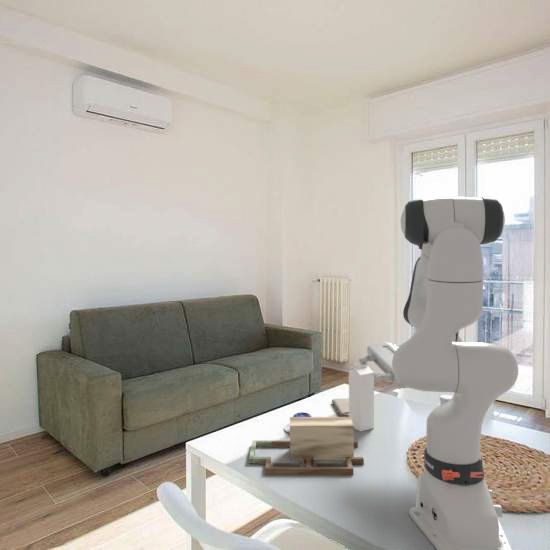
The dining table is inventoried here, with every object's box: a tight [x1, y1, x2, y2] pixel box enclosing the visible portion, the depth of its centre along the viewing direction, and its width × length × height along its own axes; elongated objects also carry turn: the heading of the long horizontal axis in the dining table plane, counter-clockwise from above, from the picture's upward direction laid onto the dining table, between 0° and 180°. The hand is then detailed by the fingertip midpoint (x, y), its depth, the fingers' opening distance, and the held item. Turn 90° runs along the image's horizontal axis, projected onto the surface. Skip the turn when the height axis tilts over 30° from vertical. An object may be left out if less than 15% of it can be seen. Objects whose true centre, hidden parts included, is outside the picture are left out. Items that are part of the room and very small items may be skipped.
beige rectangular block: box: [289, 416, 355, 461], centre depth 133 cm, size 7×18×10 cm, turn 88°
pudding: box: [284, 411, 312, 434], centre depth 152 cm, size 12×12×5 cm
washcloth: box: [331, 397, 349, 417], centre depth 170 cm, size 12×18×3 cm, turn 6°
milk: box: [348, 361, 375, 432], centre depth 153 cm, size 6×6×22 cm
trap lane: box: [248, 440, 365, 476], centre depth 130 cm, size 18×32×2 cm, turn 88°
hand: (367, 370), depth 131 cm, fingers open, 8 cm apart
